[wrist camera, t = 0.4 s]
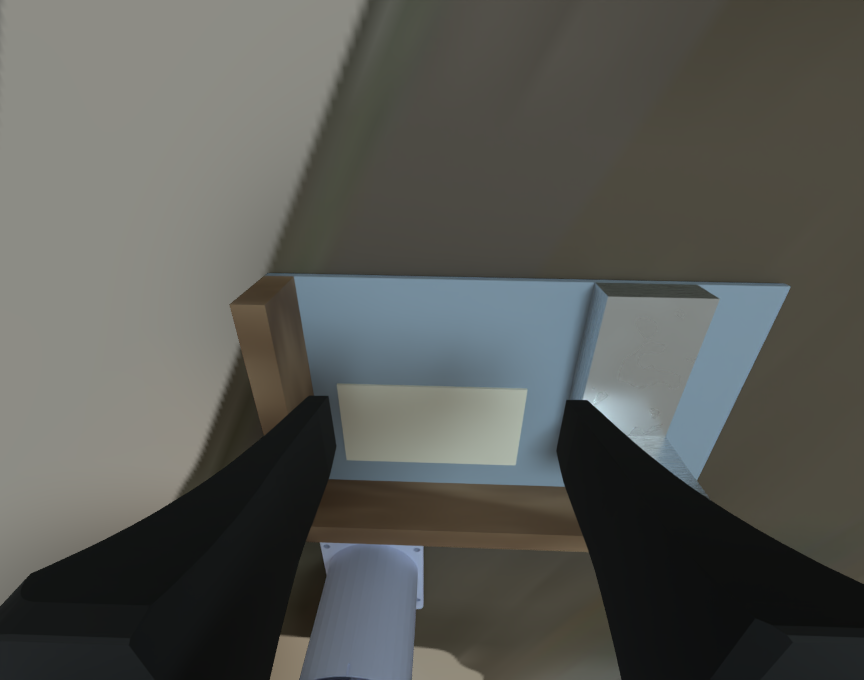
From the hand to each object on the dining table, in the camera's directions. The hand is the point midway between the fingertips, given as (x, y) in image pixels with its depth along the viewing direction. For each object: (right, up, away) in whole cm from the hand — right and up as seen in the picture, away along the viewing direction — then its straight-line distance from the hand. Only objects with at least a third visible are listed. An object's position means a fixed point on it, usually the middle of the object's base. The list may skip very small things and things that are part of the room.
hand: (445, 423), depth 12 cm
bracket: (+10, +1, +10) cm, 14 cm away
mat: (+4, -1, +12) cm, 12 cm away
